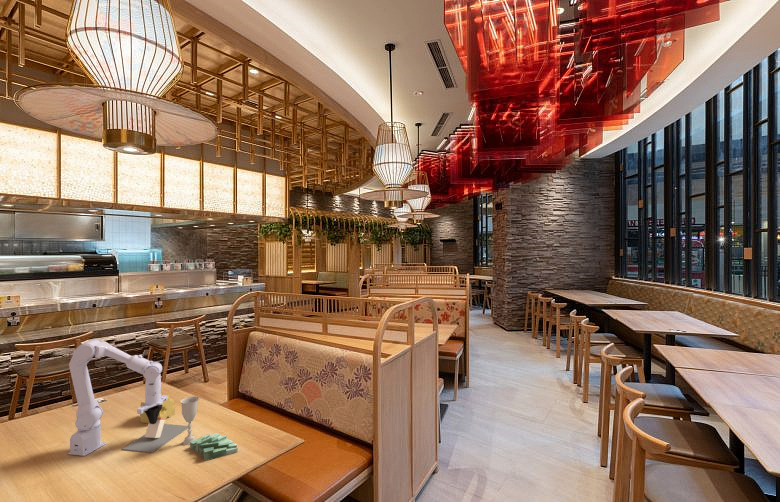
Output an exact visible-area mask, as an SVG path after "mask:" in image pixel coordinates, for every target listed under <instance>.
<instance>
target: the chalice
mask: <svg viewBox="0 0 780 502" xmlns="http://www.w3.org/2000/svg"><path fill="white" fill-rule="evenodd" d="M199 400H200V397H199V396H195V395H194V396H188V397H185V398H183V399H181V400H179V401H180V404H181V415H182V418H183V419H184V421H185V422H186V423H187V424H188V425H187V426H188V428H187V436H185V437H184V440H183V442H182V445H184V446H190V442H192V441H193V440H197V438H196V437H195V435H194V434H192V431H193V430H192V427H193V426H192V424H191V423H192V422H193V421H194V419H196V415H197V413H198V405H199V404H198V403H199V402H198V401H199Z"/></svg>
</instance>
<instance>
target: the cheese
mask: <svg viewBox="0 0 780 502" xmlns="http://www.w3.org/2000/svg"><path fill="white" fill-rule="evenodd" d="M164 395H166V396H168V400H166V401H163V403H162V404H161V405H162V409H161V410H160V412H159V415H158V417H166V418H165V421H166V419H167V418H171V417H172V416H174V415H175V413H176V409H175V407H174V404H175V399H174V398H171V396H170V395H169V394H162V393H161V396H164ZM144 403H145V400H142V401H141V402H140V407H141V406H142V405H143V404H144ZM140 407H139V408H140ZM139 418H140V419H139V420H140V423H143V424H144V423H145V424H149V419H148V417H147V415H146V413H145V412H143V413H142V414H139Z"/></svg>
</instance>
